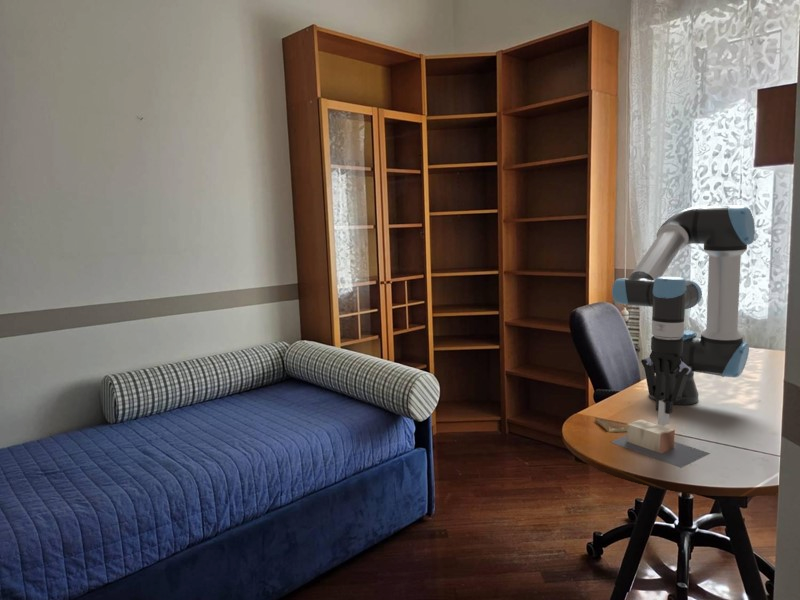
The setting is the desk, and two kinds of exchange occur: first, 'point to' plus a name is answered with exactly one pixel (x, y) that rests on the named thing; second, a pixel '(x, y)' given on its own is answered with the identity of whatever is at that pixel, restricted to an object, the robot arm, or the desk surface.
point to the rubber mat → (674, 456)
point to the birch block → (650, 436)
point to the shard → (612, 425)
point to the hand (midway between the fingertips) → (663, 423)
